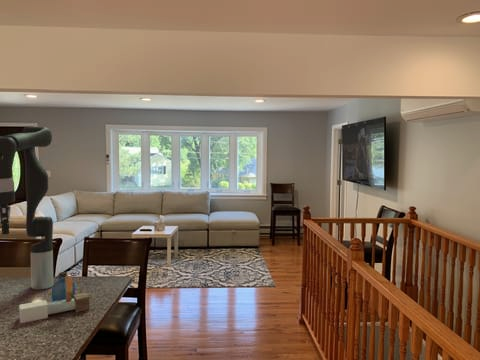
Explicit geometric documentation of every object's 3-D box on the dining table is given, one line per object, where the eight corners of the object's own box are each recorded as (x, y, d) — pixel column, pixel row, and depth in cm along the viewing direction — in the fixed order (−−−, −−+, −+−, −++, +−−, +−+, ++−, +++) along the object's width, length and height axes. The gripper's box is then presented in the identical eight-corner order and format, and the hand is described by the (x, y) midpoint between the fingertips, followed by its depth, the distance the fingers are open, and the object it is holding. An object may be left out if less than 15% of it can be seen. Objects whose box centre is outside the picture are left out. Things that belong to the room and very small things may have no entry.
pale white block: (19, 318, 138) (19, 304, 137) (46, 312, 143) (46, 300, 142) (20, 323, 133) (19, 309, 133) (47, 317, 138) (47, 304, 138)
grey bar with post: (37, 313, 140) (36, 279, 140) (82, 304, 149) (81, 272, 148) (38, 316, 137) (37, 281, 137) (83, 307, 146) (83, 274, 145)
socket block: (73, 307, 148) (73, 295, 148) (86, 304, 151) (86, 292, 151) (76, 311, 144) (75, 299, 144) (89, 309, 147) (89, 296, 146)
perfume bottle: (74, 298, 157) (74, 271, 157) (63, 304, 152) (63, 276, 151) (63, 297, 159) (63, 270, 159) (52, 302, 154) (51, 274, 153)
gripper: (14, 191, 134) (17, 234, 135) (14, 187, 145) (16, 226, 147) (-10, 193, 130) (-7, 237, 131) (-9, 188, 142) (-6, 229, 143)
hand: (5, 231), depth 139 cm, fingers open, 8 cm apart
